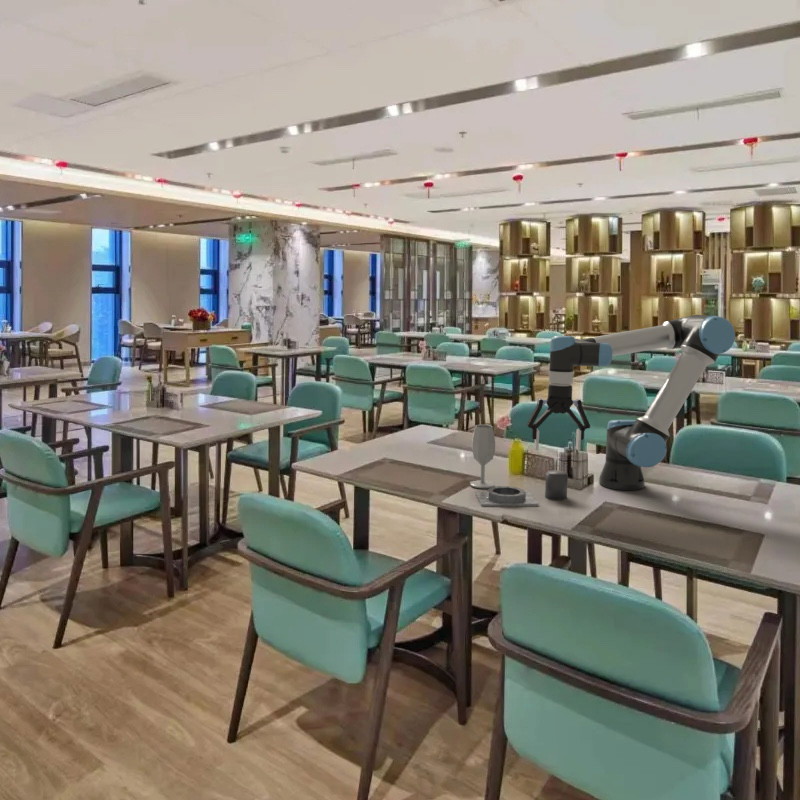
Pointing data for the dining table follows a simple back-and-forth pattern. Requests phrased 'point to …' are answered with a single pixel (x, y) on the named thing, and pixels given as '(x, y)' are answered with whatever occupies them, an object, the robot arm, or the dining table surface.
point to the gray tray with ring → (506, 497)
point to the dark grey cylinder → (556, 485)
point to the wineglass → (483, 452)
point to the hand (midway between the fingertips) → (557, 449)
